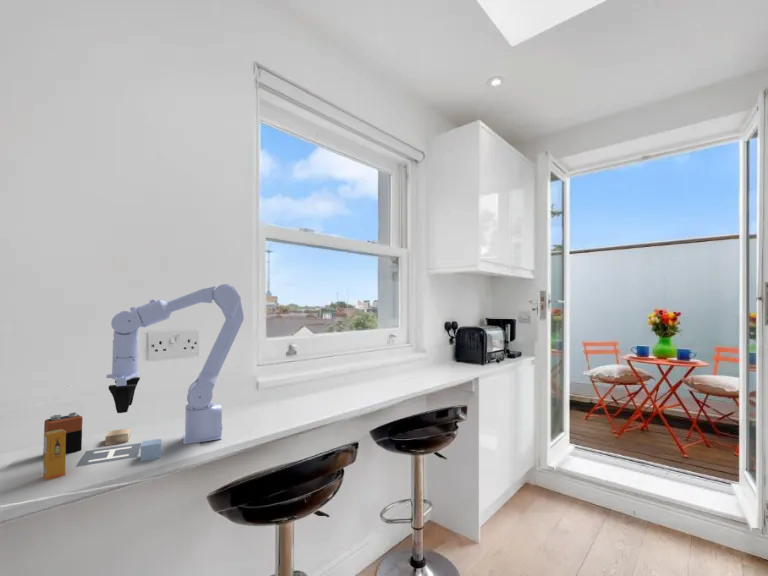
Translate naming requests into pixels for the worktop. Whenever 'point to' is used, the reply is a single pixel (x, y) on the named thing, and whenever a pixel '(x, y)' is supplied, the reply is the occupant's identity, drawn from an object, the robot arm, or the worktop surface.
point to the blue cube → (150, 450)
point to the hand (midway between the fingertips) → (124, 409)
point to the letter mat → (109, 454)
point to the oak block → (117, 436)
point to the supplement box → (54, 454)
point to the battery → (67, 430)
